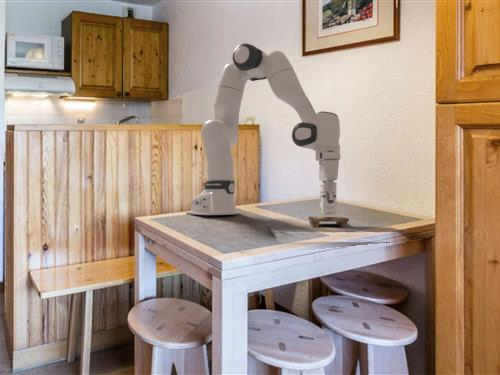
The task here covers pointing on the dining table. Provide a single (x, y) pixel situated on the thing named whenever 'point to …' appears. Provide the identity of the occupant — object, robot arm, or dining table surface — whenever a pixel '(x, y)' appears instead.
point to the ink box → (327, 200)
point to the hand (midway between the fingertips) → (327, 193)
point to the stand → (339, 221)
